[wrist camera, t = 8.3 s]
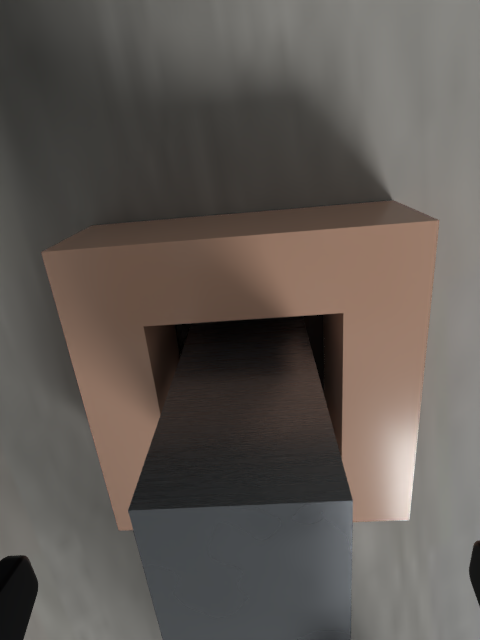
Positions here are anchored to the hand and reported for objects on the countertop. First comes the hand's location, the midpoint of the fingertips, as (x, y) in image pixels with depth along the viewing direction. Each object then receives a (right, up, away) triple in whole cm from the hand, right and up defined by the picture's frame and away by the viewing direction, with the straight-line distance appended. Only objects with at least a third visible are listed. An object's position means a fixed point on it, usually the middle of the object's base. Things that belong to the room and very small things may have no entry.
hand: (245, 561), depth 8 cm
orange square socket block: (0, +4, +9) cm, 10 cm away
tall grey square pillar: (0, +4, +9) cm, 10 cm away
